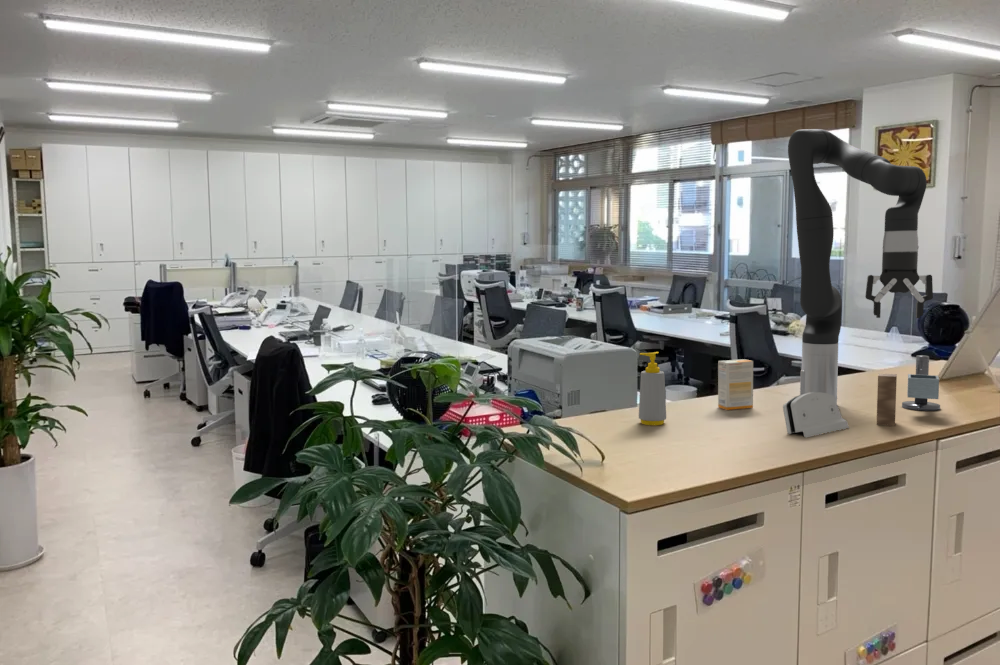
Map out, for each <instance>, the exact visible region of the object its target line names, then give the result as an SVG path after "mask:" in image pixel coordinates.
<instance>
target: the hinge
mask: <svg viewBox="0 0 1000 665" xmlns="http://www.w3.org/2000/svg"><path fill="white" fill-rule="evenodd" d="M838 406H839V405H838V402H837V403H836V401H835V398H834V396H832V395H830V394H827V393H821V392H813V393H806V394H802V395H800V394H799V395H796V396H794V397H793V398H791V399H789V400H787V401H786V402H785V403H784V404H783V406H782V410H783V411H782V412H783V415H784V421H785V422H784V423H785V426H786V427H785V428H786V432H787V434H788V435H791V434H795V433H803V436H804V438H810V437H814V435H815V436H819V434H820V435H823V434H822V433H825V434H827V432H829V433H832V432H831V431H834V432H837V431H836V430H839V431H842V430H841V429H843V430H846V428H848V429H850V426H849V423H848V420H846V419H845V418H843V417H842V413H841V411H840V409H839V407H838Z"/></svg>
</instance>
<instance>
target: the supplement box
mask: <svg viewBox="0 0 1000 665" xmlns="http://www.w3.org/2000/svg"><path fill="white" fill-rule="evenodd" d="M717 369H718V370H717V372H718V373H717V374H718V375H717V376H718V377H717V378H718V379H717V381H718V382H717V384H718V385H717V394H718V395H717V399H718V400H717V401H718V402H717V403H718V404H717V407H718V408H720V409H723V410H726V411H730V410H741V409H753V407H754V360H749V359H745V358H744V359H743V358H742V359H741V358H740V359H729V360H726V359H725V360H718V363H717Z"/></svg>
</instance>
